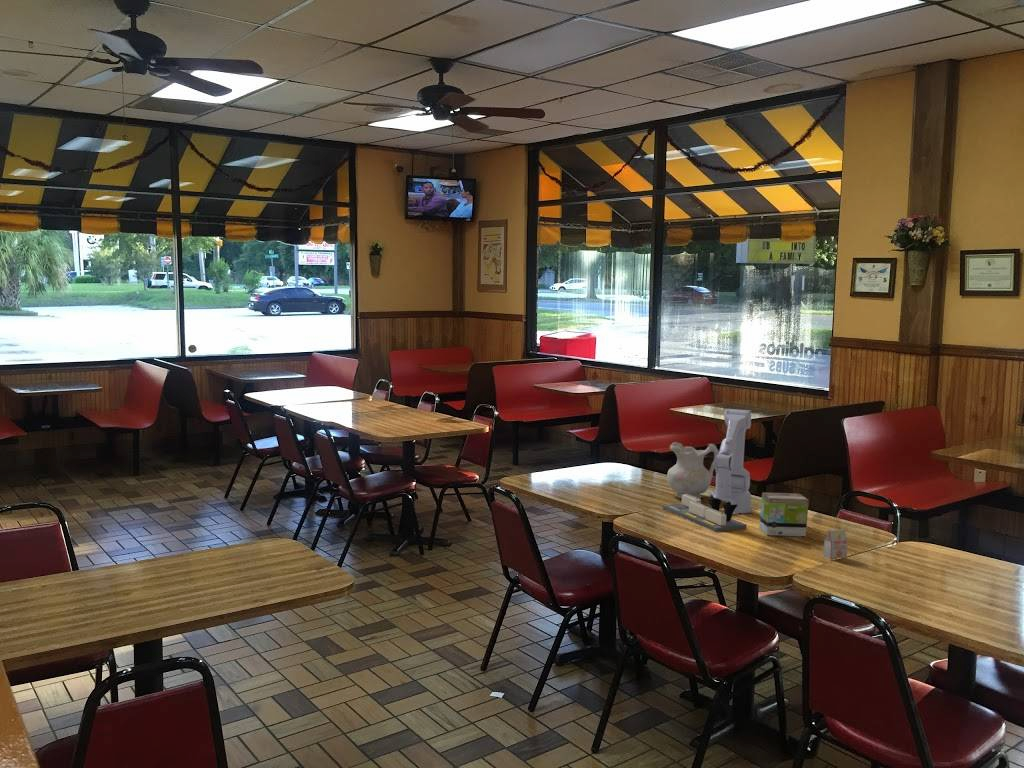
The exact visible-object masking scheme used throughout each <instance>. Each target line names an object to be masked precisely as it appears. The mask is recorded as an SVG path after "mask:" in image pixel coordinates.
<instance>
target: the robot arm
mask: <svg viewBox="0 0 1024 768" xmlns="http://www.w3.org/2000/svg"><path fill="white" fill-rule="evenodd" d="M723 418H724V423H725V425H726V426H727V429H726V437H725V438H724V439H722V441H721V444H720V447H719V450H718V451H719V454H718V455H716V457H715V469H714V470H715V472H714V473H715V489H714V490H715V491H713V490H712V491H709V493H708V496H709V497H710V498H709V497H708V498H707V501H708V503H709V505H710V508H712V509H714V510H717V511H719V512H720V507H721V504H722V506H723V508H722V509H721V510H722V511H723V513H724V514H725V515H726V521H730V520H731V519H732V517H733V515H739V513H741V514H749V513H752V512H753V511H752V510H751V509H752V508H751V507H752V494H751V492H750V491H749V489H750V485H751V477H750V475H751V473H750V472H749V471H748V470H747V469H746V468H744V459H745V444H746V443H745V440H746V432H747V430H748V429H751V426H752V412H751V410H750V409H748V410H746V409H734V408H726V409H725V412H724V417H723ZM722 501H723V502H725V503H721V502H722Z"/></svg>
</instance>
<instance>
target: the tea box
mask: <svg viewBox="0 0 1024 768" xmlns="http://www.w3.org/2000/svg"><path fill="white" fill-rule="evenodd" d="M760 501H761V503H760V511H759V512H760V514H759V530H760V531H761V532H762V533H764V535H765V536H767V535H769V536H782V537H785V536H786V537H801V536H805V537H806V535H807V527H808V513H809V501H810V500H809V499H808V498H806V497H805V496H804V495H802V494H801V493H795V492H794V493H793V492H792V493H791V492H790V493H789V492H788V493H787V492H762V493H761V500H760Z"/></svg>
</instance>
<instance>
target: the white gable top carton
mask: <svg viewBox="0 0 1024 768" xmlns="http://www.w3.org/2000/svg"><path fill="white" fill-rule="evenodd" d="M846 533H847V532H846V529H843V528H842V529H830V530H827V534H826V536H825V538H824V541H823V553H822V555H823V556H824V557H827V558H829V559H837V558H844V557H847V555H848V544H849V543H848V542H849V541H848V538H847V534H846ZM823 556H822V557H823ZM824 557H823V558H824ZM847 558H848V557H847Z"/></svg>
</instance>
